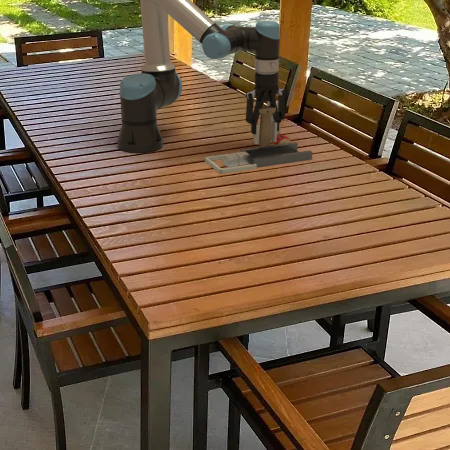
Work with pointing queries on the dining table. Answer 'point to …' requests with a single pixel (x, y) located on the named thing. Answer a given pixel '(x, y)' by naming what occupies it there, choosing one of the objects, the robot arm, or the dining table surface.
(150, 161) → the dining table surface
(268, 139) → the handle
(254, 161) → the rail
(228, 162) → the pale grey cube
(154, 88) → the robot arm
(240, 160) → the pale beige cube
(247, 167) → the tray
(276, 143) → the ladybug figurine
